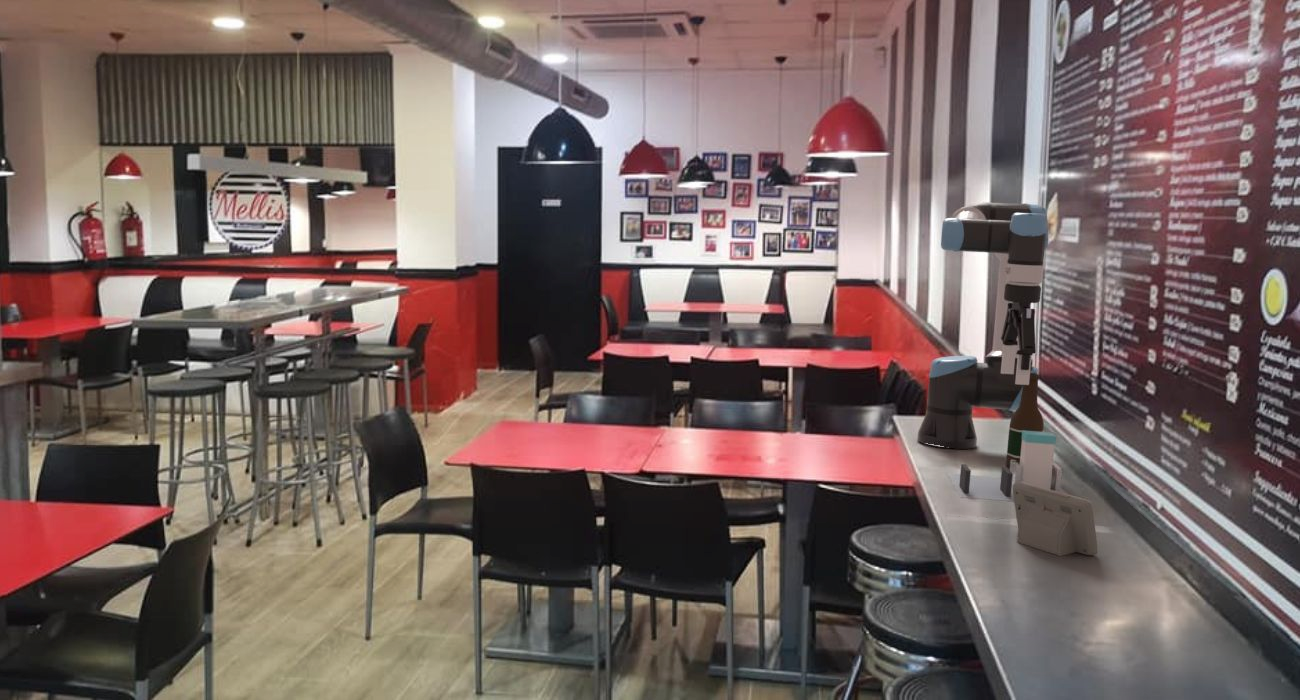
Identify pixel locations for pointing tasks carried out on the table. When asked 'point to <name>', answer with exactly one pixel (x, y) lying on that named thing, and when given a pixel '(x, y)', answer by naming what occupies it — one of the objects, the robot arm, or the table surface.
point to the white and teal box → (1037, 458)
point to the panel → (983, 488)
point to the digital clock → (1054, 520)
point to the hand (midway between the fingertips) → (1014, 379)
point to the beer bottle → (1024, 419)
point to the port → (1055, 478)
